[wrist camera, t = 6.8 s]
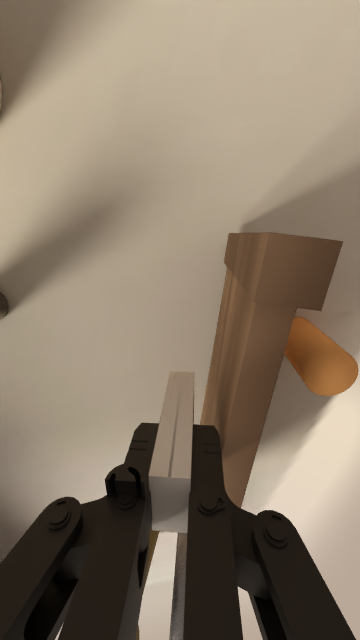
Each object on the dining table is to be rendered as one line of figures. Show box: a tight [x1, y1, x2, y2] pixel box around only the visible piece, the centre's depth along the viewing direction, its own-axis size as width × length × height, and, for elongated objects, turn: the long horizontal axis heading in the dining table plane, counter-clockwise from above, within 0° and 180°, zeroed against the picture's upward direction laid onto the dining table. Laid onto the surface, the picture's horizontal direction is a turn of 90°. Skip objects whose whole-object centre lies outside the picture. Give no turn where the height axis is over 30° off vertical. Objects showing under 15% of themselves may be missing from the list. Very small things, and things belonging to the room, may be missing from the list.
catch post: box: [284, 317, 358, 396], centre depth 17 cm, size 3×3×6 cm
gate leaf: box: [200, 233, 343, 508], centre depth 15 cm, size 2×20×11 cm, turn 173°
